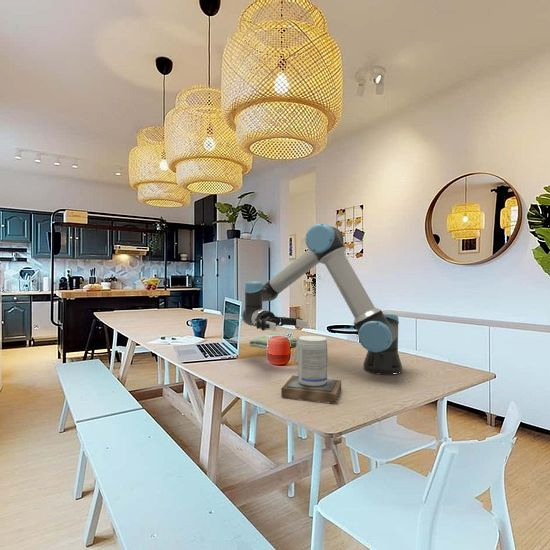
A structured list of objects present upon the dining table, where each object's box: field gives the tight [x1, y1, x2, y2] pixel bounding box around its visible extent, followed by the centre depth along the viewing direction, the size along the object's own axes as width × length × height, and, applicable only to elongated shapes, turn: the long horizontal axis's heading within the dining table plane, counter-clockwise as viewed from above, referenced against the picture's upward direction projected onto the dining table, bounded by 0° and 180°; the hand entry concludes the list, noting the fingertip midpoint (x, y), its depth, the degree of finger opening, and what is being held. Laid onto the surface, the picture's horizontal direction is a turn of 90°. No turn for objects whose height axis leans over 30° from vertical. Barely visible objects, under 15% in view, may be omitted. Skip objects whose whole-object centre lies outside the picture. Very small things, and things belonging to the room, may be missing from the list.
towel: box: [249, 332, 297, 349], centre depth 197 cm, size 18×21×5 cm
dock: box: [280, 375, 342, 404], centre depth 121 cm, size 17×15×3 cm
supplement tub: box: [297, 335, 328, 386], centre depth 121 cm, size 10×10×15 cm
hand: (291, 326), depth 135 cm, fingers open, 13 cm apart
